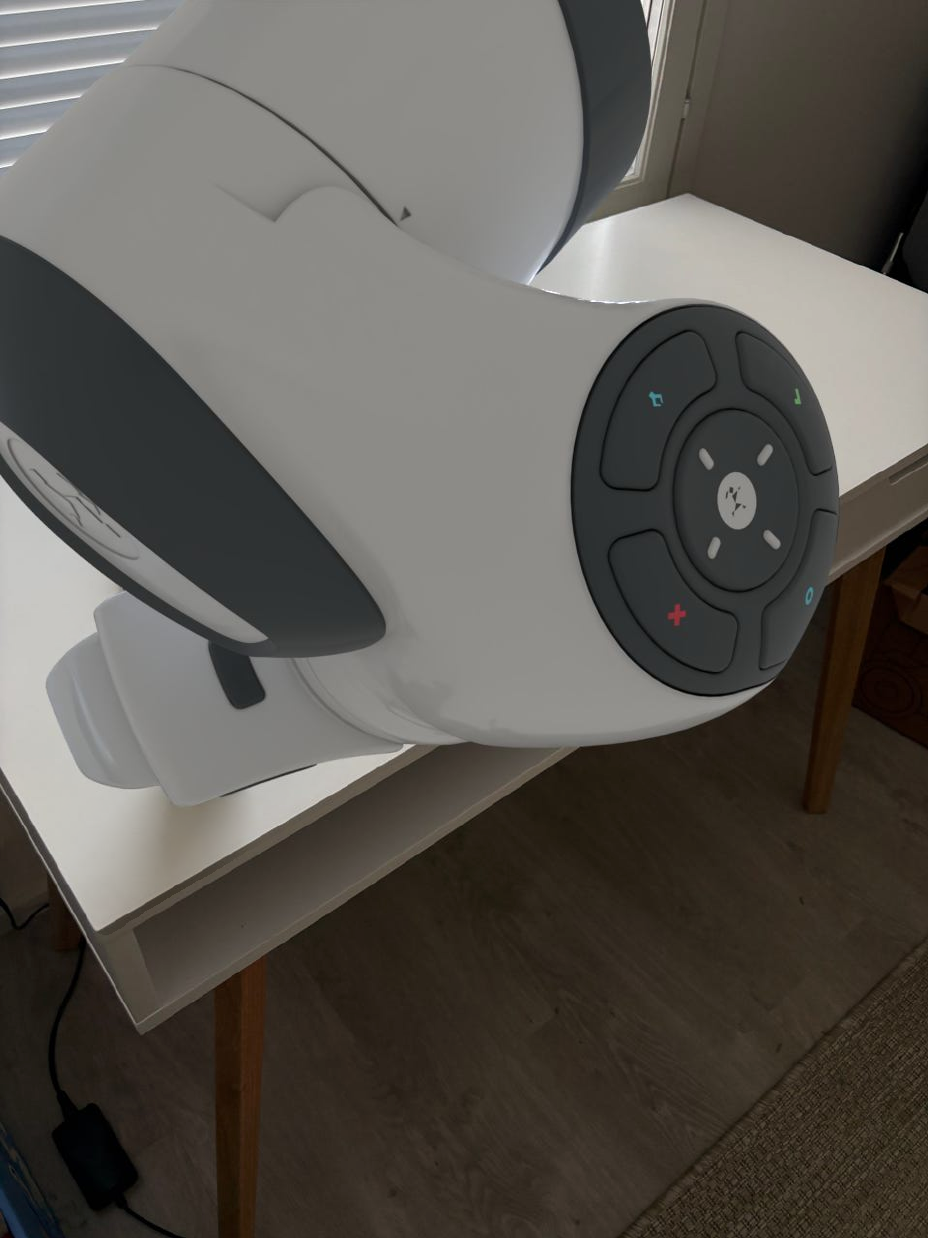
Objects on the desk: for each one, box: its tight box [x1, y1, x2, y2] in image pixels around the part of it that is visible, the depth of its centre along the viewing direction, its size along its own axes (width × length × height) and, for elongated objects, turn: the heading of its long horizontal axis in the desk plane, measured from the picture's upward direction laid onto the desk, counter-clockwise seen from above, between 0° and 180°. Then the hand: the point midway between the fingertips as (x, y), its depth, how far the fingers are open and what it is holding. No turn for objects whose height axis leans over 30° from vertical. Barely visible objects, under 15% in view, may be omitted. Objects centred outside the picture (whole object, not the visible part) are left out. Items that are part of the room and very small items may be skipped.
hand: (282, 639), depth 44 cm, fingers open, 8 cm apart
